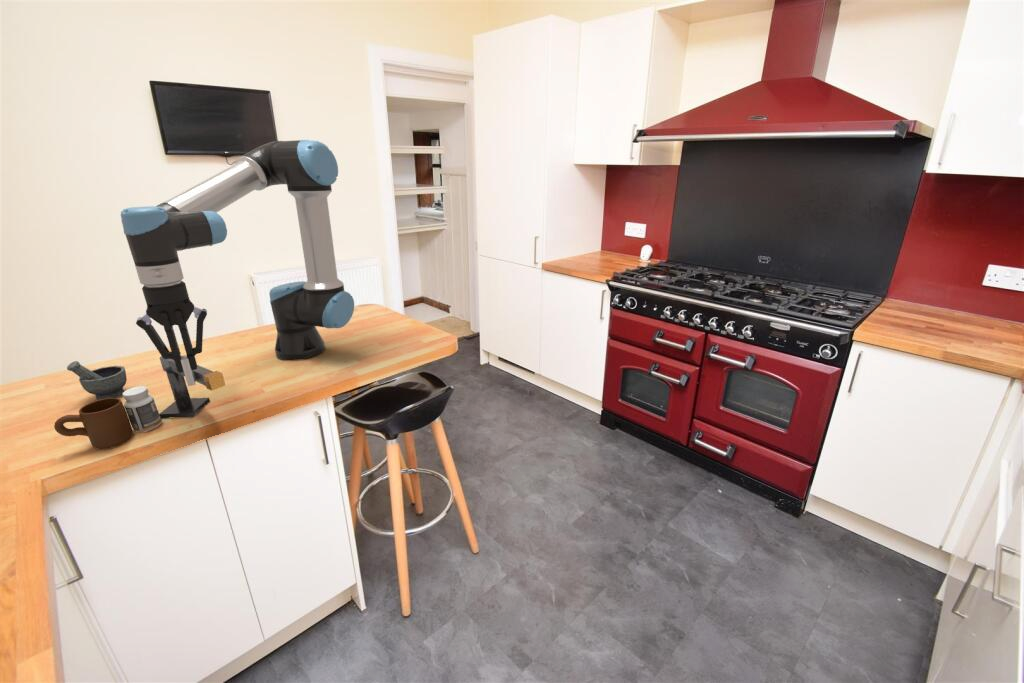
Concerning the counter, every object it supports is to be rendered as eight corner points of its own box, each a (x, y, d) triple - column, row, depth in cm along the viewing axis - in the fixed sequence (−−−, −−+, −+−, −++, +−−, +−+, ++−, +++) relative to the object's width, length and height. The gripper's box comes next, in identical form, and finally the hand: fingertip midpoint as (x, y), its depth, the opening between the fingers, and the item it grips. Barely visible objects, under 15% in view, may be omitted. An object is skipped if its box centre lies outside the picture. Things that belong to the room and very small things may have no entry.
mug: (67, 463, 99) (50, 425, 96) (66, 448, 105) (50, 412, 101) (136, 441, 107) (123, 405, 104) (132, 428, 112) (119, 393, 109)
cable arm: (160, 369, 115) (156, 357, 114) (177, 363, 118) (174, 351, 117) (209, 391, 104) (206, 378, 103) (227, 384, 107) (224, 372, 106)
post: (210, 401, 124) (199, 362, 120) (193, 417, 117) (180, 375, 112) (179, 402, 124) (166, 363, 119) (160, 418, 116) (146, 376, 112)
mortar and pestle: (124, 384, 134) (111, 346, 130) (139, 392, 129) (125, 353, 125) (75, 401, 125) (58, 360, 121) (88, 410, 121) (72, 368, 116)
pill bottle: (164, 418, 116) (152, 383, 113) (158, 430, 111) (146, 393, 108) (137, 423, 114) (124, 387, 111) (130, 435, 109) (116, 398, 106)
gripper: (122, 291, 92) (155, 397, 101) (199, 282, 98) (224, 382, 107) (127, 283, 98) (158, 383, 106) (199, 275, 104) (223, 371, 113)
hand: (191, 383), depth 107 cm, fingers closed
